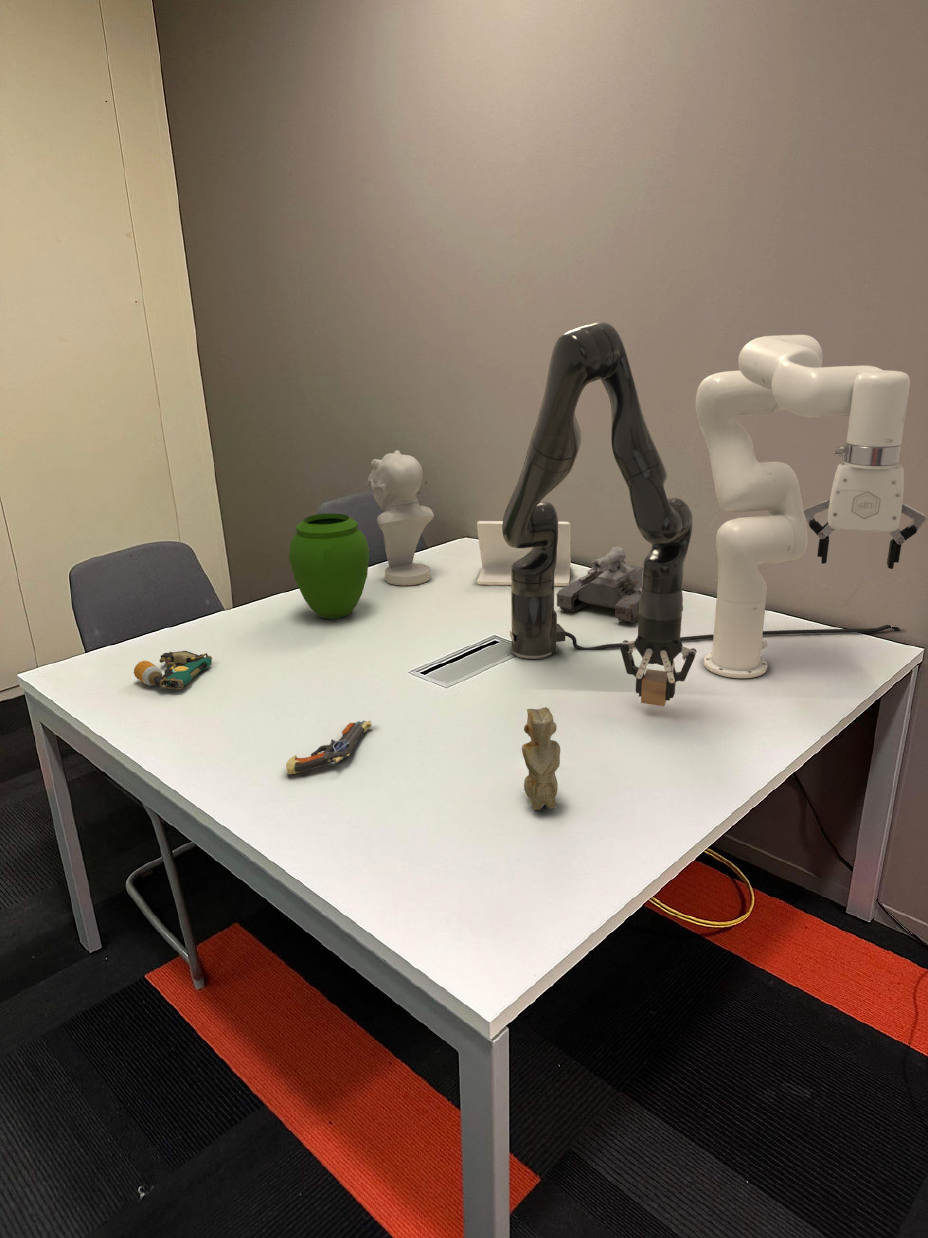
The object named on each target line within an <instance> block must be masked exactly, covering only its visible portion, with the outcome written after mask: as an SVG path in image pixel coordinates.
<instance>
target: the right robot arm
mask: <svg viewBox="0 0 928 1238" xmlns="http://www.w3.org/2000/svg"><path fill="white" fill-rule="evenodd" d="M823 358H824V354H823V349H822V346H821V345H820V343H819V341H817V339H816V338H815V337H813V336H811V335H808V334H781V335H777V334H776V335H764V336H760V337H756V338H753V339H752V340H750V341H749V342H747V343H746V344H744V346H743V347H742V348H741V350H740V351H739V355H738V359H737V360H738V361H737V362H738V368H739V370H727V371H721V372H716V373H713V374H710V375H708V376H706V377H705V378H704V379H703V380H701V382H700V384H699V385H698V387H697V390H696V395H695V404H694V405H695V416H696V419H697V423H698V426H699V428H700V429H699V430H700V431H701V434H702V436H703V438H704V440H705V443H706V446H707V451H708V454H709V460H710V467H711V468H710V469H711V474H712V479H713V485H714V491H715V496H716V500H717V503H718V505H719V507H720V508H721V509H722V510H723V511H725V512H727V513H745V512H746V513H747V512H759V511H767V512H768V514H769V515H756V516H755V515H753V516H743V517H742V516H741V517H736V518H732V519H729V520H727V521H725V522H724V523H722V524H721V526H720V527H719V528H718V530H717V532H716V536H715V547H716V556H717V587H716V588H717V589H716V601H715V613H714V614H715V615H714V625H713V626H714V627H713V634H714V637H713V638H712V651H711V652H709V653H707V654H706V655H705V656H704V658H703V665H704V667H705V668H706V669H707V670H708V671H710V672H711V673H712V674H713V673H714V674H715V675H718V676H722V677H726V678H732V679H752V678H756V677H757V678H758V677H760V676H762V675H764V674H765V673H766V672H767V670H768V662H767V661H766V659H764V658H763V657H761V653H762V651H763V649H766V648H767V647H768V646H769V641H768V639H766V638H763V636H764V635H763V631H764V626H765V625H764V624H765V616H766V606H767V605H766V604H767V593H768V589H767V588H768V586H767V583H766V580H765V579H764V577H763V575H762V574H761V573H760V571H759V566H763V565H770V564H781V563H791V562H793V561H797V560H799V559H801V558H802V557H803V556H804V555H805V553H806V551H807V547H808V544H809V543H808V541H809V539H808V538H809V537H808V536H809V535H808V528H807V524H808V527H809V528H810V529H811V530H812V531H813V532H814V533H815V535H816V536H817V537H818V546H817V554H816V555H817V558H820V559H821V565H824V564H827V561H828V552H829V545H830V535H831V534H832V533H833V532H834V531H835V530H836V531H837V530H838V531H847V532H862V533H879V534H889V535H890V536H891V540H889V547H888V553H887V559H886V565H887V568H888V569H889V570H893V569H894V565H895V563H900V556H901V550H902V545H903V544H904V543H905V542H906V541H907V540H909V539H910V538H912V537H913V536H914V535H916V534H917V532H918V530H919V529H920V528H921V527H922V526H923V525H924V523H925V522H926V520H927V517H926V515H925V513H922V512H921V511H919V510H917V509H916V508H913V507H912V506H910V505H908V504H907V503H904V502H903V501H904V489H905V471H904V466H902V464H899V460H900V456H901V455H900V454H901V448H902V441H903V435H904V427H905V421H906V414H907V408H908V402H909V394H910V388H911V377H910V376H909V375H908V373H906V372H903V371H900V370H888V369H887V370H884V369H882V368H880V367H877V366H874V365H839V366H822V365H823V360H824V359H823ZM782 410H783V411H787V412H789V413H791V414H794V415H796V416H798V417H803V418H810V419H811V418H812V419H814V418H829V417H849V418H848V427H847V433H846V434H847V435H846V441H845V444H843V445H841V446H835V448H834V456H837V457H840V458H842V459H843V461H841V462H839V463H838V465H837V468H836V470H835V473H834V478H833V482H832V486H831V491H830V496H829V498H826V499H824V500H822V501H819V502H817V503H814V504H812V505H809V506H806V507H805V508H804V504H803V497H802V492H801V487H800V483H799V479H798V476H797V474H796V472H795V470H794V469H793V468H792V467H791V466H790V465H789V464H787V463H785V462H782V461H762V462H760V461H758V459H757V457H756V453H755V448H754V442H753V439H752V437H751V435H750V434H749V433H748V431H747V429H746V428H744V426H743V425H742V424H741V423H740V422H738V421H737V419H736V418H735V416H751V415H752V416H753V415H769V414H776V413H778V412H781V411H782ZM826 510H827V521H826V522H825V523H824V524H823V525H822V524H821V523H820V522H819V521H818V520H817V518H816V514H818V513H821V512H823V511H826ZM902 514H903V515H905V516H906V517H908V518H910V519H912V520H911V523H910V524H909V525H906V527H905V528H903V529H902V530H900V528H899V527H900V523H901V518H902Z"/></svg>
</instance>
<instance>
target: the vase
mask: <svg viewBox="0 0 928 1238" xmlns="http://www.w3.org/2000/svg"><path fill="white" fill-rule="evenodd" d="M358 524H359V523H358V521H356V520H355V519H353V518H352V517H350V516H349V515H347V514H344V513H335V512H334V513H333V512H331V513H320V514H313V515H310V516H307V517H305V518H303V519H302V520H301V521H300V522H299V523H298V524H297V525H296V526H295V532H296V533H295V534H294V536H293V537H292V538H291V540H290V542H289V551H288V559H289V564H290V566H291V567H290V568H291V570H292V575H293V578H294V581H295V584H296V586H297V587H298V589H299V591H300V593H301V596H302V597H303V600H304V601H305V603H306V604H307V605H308V607H309V608H310V609H311V611H312V612H314V613H315V614H316V615H317V616H318V617H320V618H324V619H326V620H327V619H329V620H336V619H341V618H345V617H347V616H349V615H350V614H351V613H352V612H353V611H354V610H355V608H356V607H357V605H358V604H359V601H360V599H361V597H362V595H363V592H364V588H365V586H366V581H367V578H368V570H369V561H370V560H369V559H370V548H369V545H368V541H367V537H366V535H365V534H364V533H363V532H362V531H361V530H360V529H359V527H358Z"/></svg>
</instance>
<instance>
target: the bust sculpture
mask: <svg viewBox="0 0 928 1238" xmlns="http://www.w3.org/2000/svg"><path fill="white" fill-rule="evenodd" d="M370 463H371V467H372V470H371V473H370V474H369V475H368V479H367V483H366V484H367V486H371V490H372V492H373V499H374V501H375V503H376V504H377V505H378V507H379V508H380V510H381V511H382V512H381V513H380V514H379V515H378V516H377V518H376V523H377V525H378V528H379V529H380V531H381V532H382V534H383V535H382V536H383V542H384V550H385V554H386V559H387V564H388V566H387V567H386V568H385V569H384V579H385V582H387V583H388V584H391V585H394V586H395V585H396V586H416V585H420V584H424V583H426V582H428V581H430V580H431V577H432V576H431V566H429V565H427V564H425V563H421V562H420V563H419V562H414V557H415V555H416V554H415V553H416V550H417V546H418V544H419V541H420V538H421V536H422V533H423V531H424V530H425V528H426V527H427V525H428V524H429V523H430V522H431V521H432V520H433V519H434V517H435V515H434V512H433V510H432V509H431V508H430V507H429V506H425V505H420V503H419V500H418V497H417V493H418V492H419V490H420V489H421V486H422V482H423V479H424V471H423V467H422V465H421V463H420V462H419V461H418V460H417V459H416V458H415V457H414V456H412V455H409V454H402V453H401V451H400V450H398V449H397V450H394V452H392V453H390V452H389V453H386V454H385V455H383V457H382V458H381V459H376V458H373V459H372V460H371V462H370Z"/></svg>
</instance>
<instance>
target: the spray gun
mask: <svg viewBox="0 0 928 1238" xmlns="http://www.w3.org/2000/svg"><path fill="white" fill-rule="evenodd" d="M212 660H213V657H212V656H211V655H208V653H207V652H205V653H201V654H197V653H194V652H192V651H191V652H190V651H188V650H180V651H169V652H164V653H162V654H161V655H160V658H159V660H158V662H159V663H161V664H163V663H165V664H166V668H165V670H163V672H164V674H163V673H162V669H160V668H159V666H157V665H156V664H154V663H152V662H151V661H149V660H141V661H139V662H138V663H136V665H135V666H134V668H133V675H134V677H135V678H136V679H137V680H139V681H140V682H142V683H143V684H145V685H147V686H155V685H157V686H158V687H160V688H161V689H171V690H172V689H173V690H182V689H184V687H185V686H186V685H188V684H189V683H190V682H191V681H192V679H193V678H195V677H196V676H197V675H198V674H200V673H201V672H202V671H203V670H206V669H208V668H209V667H210V666H211V665H212V662H213V661H212ZM178 663H179V664H181V665H179V666H176V665H177V664H178Z"/></svg>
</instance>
